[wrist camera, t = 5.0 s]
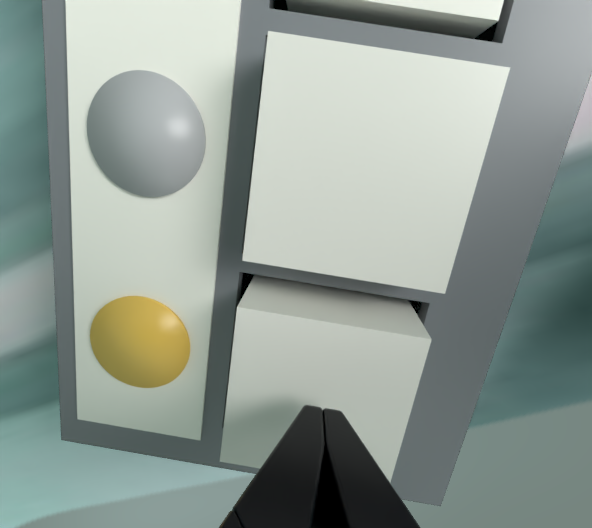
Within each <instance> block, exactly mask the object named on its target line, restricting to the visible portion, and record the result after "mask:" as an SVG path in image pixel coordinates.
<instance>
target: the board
mask: <svg viewBox="0 0 592 528" xmlns="http://www.w3.org/2000/svg"><path fill="white" fill-rule="evenodd" d="M273 7H274V0H42V14H43V37H44V59H45V82H46V104H47V127H48V149H49V171H50V194H51V216H52V239H53V261H54V284H55V306H56V329H57V351H58V374H59V396H60V418H61V440H65V441H71V442H76V443H82V444H88V445H93V446H99V447H105V448H111V449H116V450H122V451H128V452H133V453H139V454H145V455H151V456H156V457H162V458H168V459H173V460H179V461H185V462H191V463H196V464H202V465H208V466H213V467H219V468H225V469H231V470H236V471H242V472H248V473H253V474H257V472H258V471H259V469H260V468H254V467H248V466H242V465H237V464H231V463H225V462H220V454H221V445H222V436H223V427H224V419H225V410H226V401H227V392H228V383H229V374H230V365H231V356H232V348H233V339H234V330H235V321H236V312H237V306H238V304H239V303H240V295H241V287H242V278H243V273H250V274H256V275H262V276H268V277H274V278H280V279H286V280H292V281H298V282H304V283H310V284H316V285H322V286H329V287H335V288H341V289H347V290H353V291H359V292H365V293H371V294H377V295H383V296H389V297H395V298H401V299H408V300H414V301H420V302H422V303H421V307H420V310H419V314H418V317H419V319H420V320H421V322H422V324H423V325H424V327H425V329H426V331H427V332H428V334H429V336H430V337H431V339H432V340H431V344H430V347H429V351H428V354H427V358H426V361H425V364H424V368H423V371H422V375H421V378H420V382H419V385H418V389H417V392H416V396H415V399H414V402H413V406H412V409H411V413H410V416H409V420H408V423H407V427H406V430H405V434H404V437H403V441H402V444H401V447H400V451H399V454H398V458H397V461H396V465H395V468H394V472H393V475H392V479H391V482H390V483H391V485H392V486H393V488H394V489H395V491H396V492H397V494H398V495H399V497H400V498H401V499H402V500H408V501H414V502H419V503H425V504H431V505H437V506H441V504H442V501H443V498H444V495H445V492H446V489H447V486H448V484H449V481H450V478H451V475H452V472H453V469H454V466H455V464H456V461H457V458H458V455H459V452H460V449H461V446H462V444H463V441H464V438H465V435H466V432H467V429H468V426H469V424H470V421H471V418H472V415H473V412H474V409H475V406H476V404H477V401H478V398H479V395H480V392H481V389H482V386H483V383H484V381H485V378H486V375H487V372H488V369H489V366H490V363H491V361H492V358H493V355H494V352H495V349H496V346H497V343H498V340H499V338H500V335H501V332H502V329H503V326H504V323H505V320H506V318H507V315H508V312H509V309H510V306H511V303H512V300H513V298H514V295H515V292H516V289H517V286H518V283H519V280H520V277H521V275H522V272H523V269H524V266H525V263H526V260H527V257H528V255H529V252H530V249H531V246H532V243H533V240H534V237H535V234H536V232H537V229H538V226H539V223H540V220H541V217H542V214H543V212H544V209H545V206H546V203H547V200H548V197H549V194H550V191H551V189H552V186H553V183H554V180H555V177H556V174H557V171H558V169H559V166H560V163H561V160H562V157H563V154H564V151H565V148H566V146H567V143H568V140H569V137H570V134H571V131H572V128H573V126H574V123H575V120H576V117H577V114H578V111H579V108H580V106H581V103H582V100H583V97H584V94H585V91H586V88H587V85H588V83H589V80H590V77H591V74H592V0H504V2H503V6H502V10H501V13H500V17H499V21H498V23H497V27H496V30H495V34H494V38H493V41H492V42H489V41H483V40H476V39H469V38H463V37H456V36H450V35H443V34H436V33H430V32H423V31H416V30H410V29H403V28H396V27H390V26H383V25H377V24H370V23H363V22H357V21H350V20H343V19H337V18H330V17H323V16H317V15H310V14H304V13H297V12H290V11H284V10H277V9H273ZM268 31H273V32H279V33H286V34H293V35H299V36H306V37H312V38H319V39H326V40H332V41H339V42H345V43H352V44H358V45H365V46H372V47H378V48H385V49H391V50H398V51H405V52H411V53H418V54H424V55H431V56H438V57H444V58H451V59H457V60H464V61H470V62H477V63H484V64H490V65H497V66H503V67H510V71H509V74H508V77H507V81H506V84H505V88H504V91H503V95H502V98H501V102H500V105H499V109H498V112H497V115H496V119H495V122H494V126H493V129H492V133H491V136H490V140H489V143H488V147H487V150H486V154H485V157H484V160H483V164H482V167H481V171H480V174H479V178H478V181H477V185H476V188H475V192H474V195H473V198H472V202H471V205H470V209H469V212H468V216H467V219H466V223H465V226H464V230H463V233H462V237H461V240H460V243H459V247H458V250H457V254H456V257H455V261H454V264H453V268H452V271H451V275H450V278H449V281H448V285H447V288H446V292H445V294H443V293H437V292H430V291H424V290H418V289H412V288H406V287H400V286H394V285H388V284H382V283H376V282H369V281H363V280H357V279H351V278H345V277H339V276H333V275H327V274H321V273H315V272H308V271H302V270H296V269H290V268H284V267H278V266H272V265H266V264H260V263H254V262H247V261H242V259H243V250H244V241H245V232H246V223H247V214H248V205H249V197H250V188H251V179H252V170H253V161H254V152H255V143H256V134H257V125H258V117H259V108H260V99H261V90H262V81H263V72H264V63H265V54H266V46H267V37H268Z"/></svg>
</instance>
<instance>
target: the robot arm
mask: <svg viewBox="0 0 592 528" xmlns="http://www.w3.org/2000/svg"><path fill="white" fill-rule="evenodd" d="M219 528H420V527H419V525H418V524H417V522H416V521H415V519H414V518H413V516H412V515H411V513H410V512H409V510H408V509H407V507H406V506H405V504H404V503H403V501H402V500H401V498H400V497H399V495H398V494H397V492H396V491H395V489H394V488H393V486H392V485H391V483H390V482H389V481H388V479H387V478H386V476H385V475H384V473H383V472H382V470H381V469H380V467H379V466H378V464H377V463H376V461H375V460H374V458H373V457H372V455H371V454H370V452H369V451H368V449H367V448H366V446H365V445H364V443H363V442H362V440H361V439H360V438H359V436H358V435H357V433H356V432H355V430H354V429H353V427H352V426H351V424H350V423H349V421H348V420H347V418H346V417H345V415H344V414H343V412H341V411H340V410H335V409H329V408H324V409H323V410H322V408H321V407H317V406H311V405H304V406H303V408H302V409H301V410H300V412H299V413H298V415H297V416H296V418H295V419H294V421H293V422H292V423H291V425H290V426H289V428H288V429H287V431H286V432H285V434H284V435H283V436H282V438H281V439H280V441H279V442H278V444H277V445H276V446H275V448H274V449H273V451H272V452H271V454H270V455H269V457H268V458H267V459H266V461H265V462H264V464H263V465H262V467H261V468H260V469H259V471H258V472H257V474H256V475H255V477H254V478H253V480H252V481H251V482H250V484H249V485H248V487H247V488H246V490H245V491H244V493H243V494H242V495H241V497H240V498H239V500H238V501H237V503H236V504H235V506H234V507H233V509H232V511H230V512H229V514H228V515H227V517H226V518H225V520H224V521H223V523H222V524H221V525H220V527H219Z"/></svg>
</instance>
